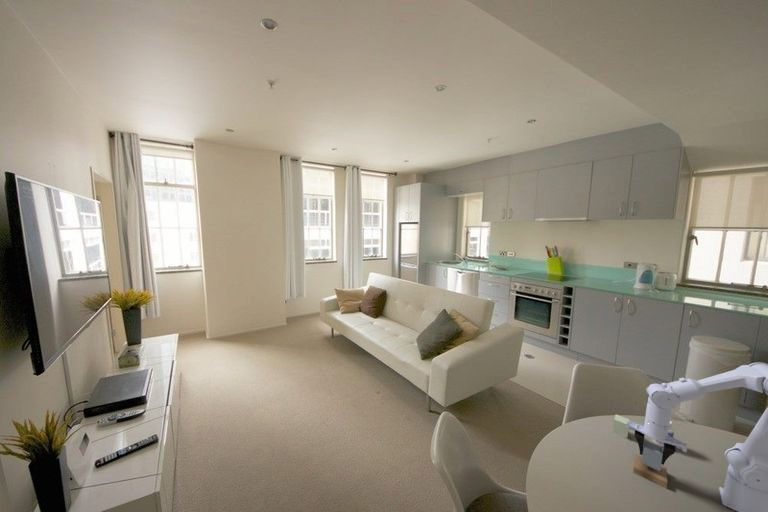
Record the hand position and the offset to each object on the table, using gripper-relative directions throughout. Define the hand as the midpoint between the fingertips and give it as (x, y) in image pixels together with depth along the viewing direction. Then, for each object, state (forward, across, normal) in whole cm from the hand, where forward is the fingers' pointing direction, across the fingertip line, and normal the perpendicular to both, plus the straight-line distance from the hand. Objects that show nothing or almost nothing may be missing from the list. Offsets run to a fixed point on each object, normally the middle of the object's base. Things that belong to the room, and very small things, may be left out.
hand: (651, 457), depth 93 cm
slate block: (+2, 0, 0) cm, 2 cm away
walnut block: (+6, 0, 0) cm, 6 cm away
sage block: (+6, +9, -17) cm, 20 cm away
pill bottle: (+6, -3, -22) cm, 23 cm away
